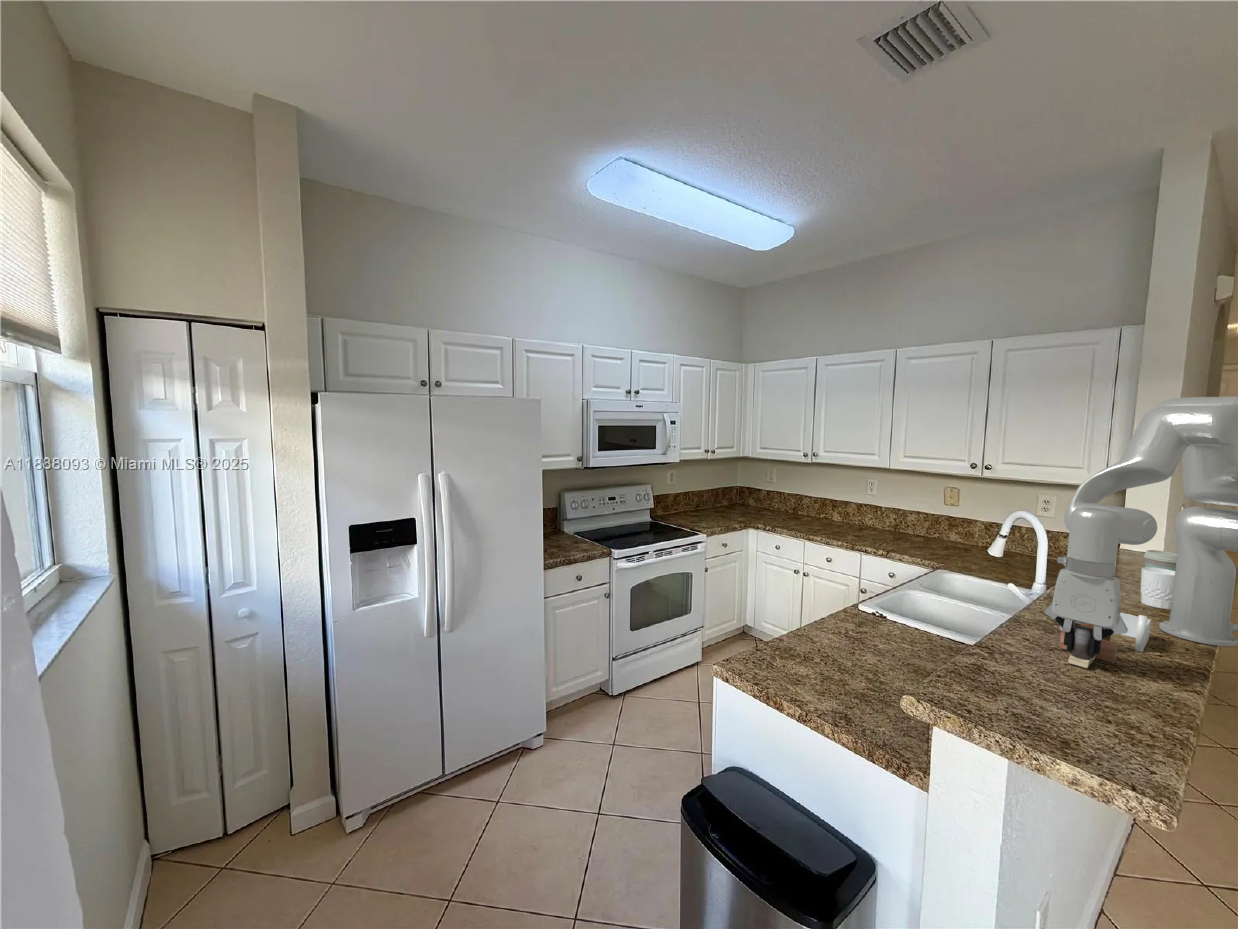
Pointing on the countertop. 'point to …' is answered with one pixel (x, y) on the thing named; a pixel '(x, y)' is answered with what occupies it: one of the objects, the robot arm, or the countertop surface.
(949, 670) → the countertop surface
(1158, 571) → the white cup
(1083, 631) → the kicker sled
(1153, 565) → the coffee cup
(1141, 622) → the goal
